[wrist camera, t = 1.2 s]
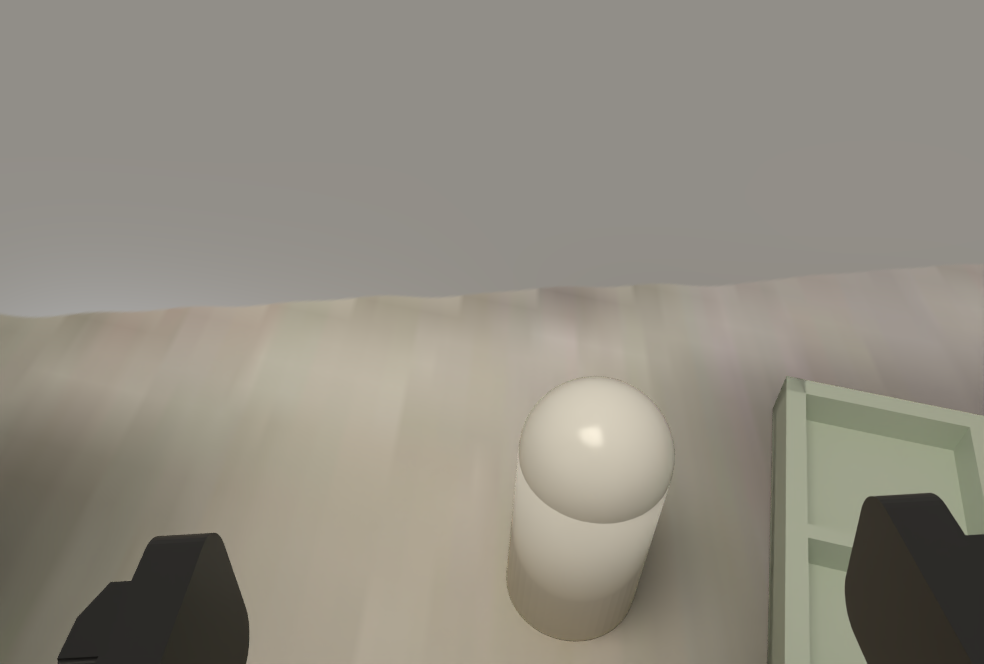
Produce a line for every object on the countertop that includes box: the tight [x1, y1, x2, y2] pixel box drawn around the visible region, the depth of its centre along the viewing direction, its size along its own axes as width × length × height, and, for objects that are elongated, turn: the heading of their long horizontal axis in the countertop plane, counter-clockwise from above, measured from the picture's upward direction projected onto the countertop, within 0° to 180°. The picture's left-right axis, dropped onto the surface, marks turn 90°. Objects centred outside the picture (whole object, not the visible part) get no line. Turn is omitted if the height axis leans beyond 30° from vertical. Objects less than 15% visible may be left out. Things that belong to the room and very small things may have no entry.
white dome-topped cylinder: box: [506, 376, 675, 641], centre depth 28 cm, size 5×5×10 cm
